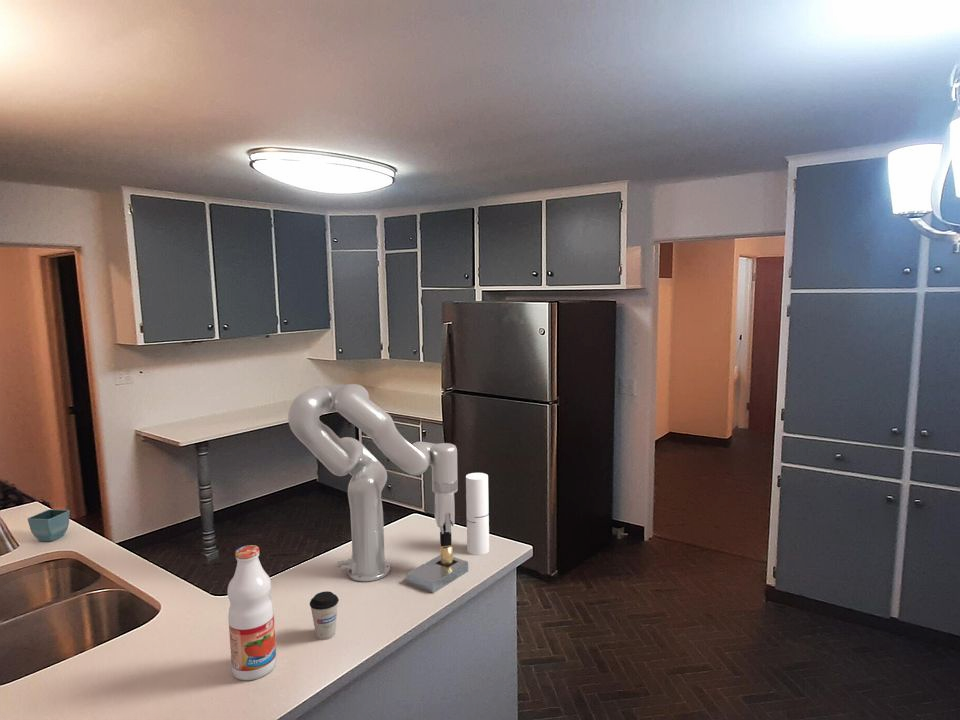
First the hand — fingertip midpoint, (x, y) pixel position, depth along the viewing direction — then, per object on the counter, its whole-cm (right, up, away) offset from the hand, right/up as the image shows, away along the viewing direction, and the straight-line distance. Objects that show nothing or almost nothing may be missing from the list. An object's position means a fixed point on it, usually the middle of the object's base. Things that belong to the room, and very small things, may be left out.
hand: (445, 544), depth 176 cm
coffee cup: (-28, -13, -31) cm, 43 cm away
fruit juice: (-41, -14, -43) cm, 61 cm away
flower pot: (-140, -8, +30) cm, 144 cm away
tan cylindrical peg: (0, -9, +1) cm, 9 cm away
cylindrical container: (+10, -7, +15) cm, 19 cm away
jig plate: (-2, -9, -2) cm, 9 cm away
